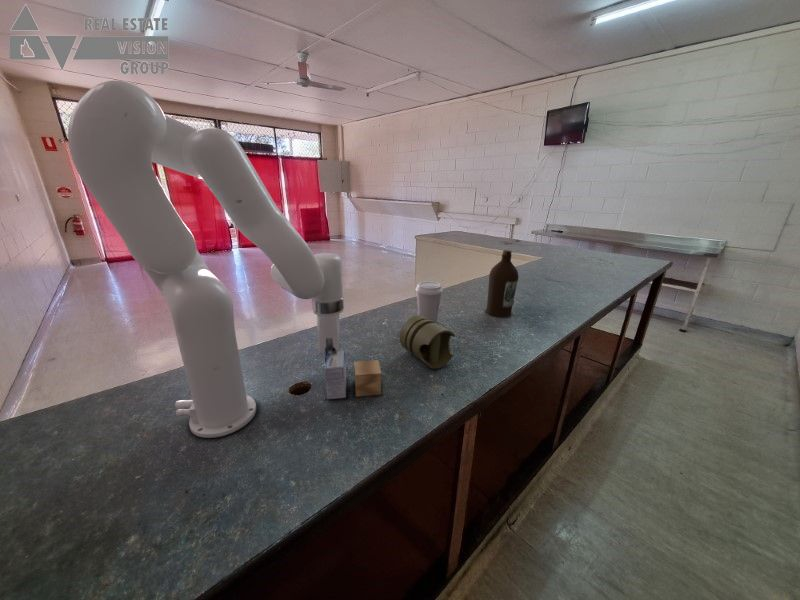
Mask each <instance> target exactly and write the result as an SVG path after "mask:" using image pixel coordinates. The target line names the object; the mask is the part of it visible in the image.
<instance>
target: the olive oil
mask: <svg viewBox="0 0 800 600" xmlns="http://www.w3.org/2000/svg"><path fill="white" fill-rule="evenodd" d="M512 253H513V251H512V250H509V249H504V250H502V254H501V260H500V261H499V262H498V263H496V264H495V265H494V266H493V267H492V268H490V271H489V275H488V286H487V287H488V289H487V301H486V309H485V310H486V313H487V314H488V315H489V316H491V317H492V316H493V317H497V318H507V317H510V316H511V315H512V311H513V310H512V309H513V306H514V303H515V295H516V291H517V287H518V281H519V271H518V269H517V268H516V266H515V265H514V264H513V262H512Z"/></svg>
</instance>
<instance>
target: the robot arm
mask: <svg viewBox="0 0 800 600" xmlns="http://www.w3.org/2000/svg"><path fill="white" fill-rule="evenodd" d="M71 112H72V113H71V115H70V118H69V122H68V127H67V142H68V148H69V153H70V157H71V160H72V162H73V165H74V166H75V169H76V171H77V173H78V175H79V177H80V179H81V181H82V182H83V184H84V185H85V187H86V188H87V190H88V192H89V193H90V194H91V196H92V197H93V199H94V200H95V202H96V203H97V204H98V206H99V208H100V209H101V210H102V211H103V213H104V215H105V217H106V218H107V220H108V221H109V222H110V224H111V225H112V226H113V227H114V229H115V231H116V232H117V233H118V235H119V236H120V238H121V239H122V241H123V242H124V244H125V246H126V248H127V251H128V253H129V254H130V256H131V257H132V258H133V259H134V260H135V262H137V263H138V265H140V267H142V268H143V270H144V271H145V273H146V274H147V276H149V278H150V280H151V281H152V283H154V285H155V286H156V287H157V289H158V290H159V291H160V293H161V294H162V296H163V298H164V299H165V302H166V305H167V306H168V309H169V312H170V316H171V319H172V322H173V327H174V331H175V336H176V340H177V344H178V348H179V353H180V356H181V357H180V358H181V361H182V363H183V367H184V371H185V372H184V373H185V375H186V380H187V384H188V388H189V392H190V394H191V399H189V400H188V399H182V400H176V401H175V403H174V409H175V417H187V416H188V417H189V419H188V426H189V429H190V432H191V433H192V434H193V435H194V436H197V437H200V438H206V439H211V438H212V439H213V438H220V437H224V436H227V435H229V434H232V433H235V432H237V431H238V430H241V429H242V428H243V427H245V426H246V425H247V424H248V423H250V422H251V421H252V419H253V418H254V417H255V416H256V413H257V403H256V400H255V399H254V398H253V397H252V396H250V395H248V394H247V392H246V386H245V382H244V374H243V369H242V368H243V367H242V364H241V358H240V357H241V356H240V352H239V346H238V340H237V335H236V327H235V311H234V310H235V309H234V303H233V298H232V295H231V293H230V291H229V289H228V288H227V286H226V285H225V283H223V282H222V281H221V279H219V278H218V277H217V276H216V275H214V273H212V272H211V270H210V269H209V267H208V265H207V264H206V262H205V260H204V259H203V257H202V256H201V254H200V252H199V250H198V249H197V247H198V246H197V242H196V239H195V237H194V235H193V233H192V232H191V230H190V229H189V227H187V225H186V224H185V223H184V221H183V219H182V218H181V216H180V215H179V213H178V211H177V210H176V208H175V207H174V205H173V203H172V201H171V199H169V197H168V195H167V193H166V190H165V189H164V187H163V186H162V184H161V182H160V180H159V178H158V176H157V175H156V172H155V170H154V166H153V163H154V164H157V165H159V166H162V167H165V168H168V169H170V170H173V171H176V172H179V173H182V174H185V175H187V176H191V177H195V178H197V179H201V180H202V181H203V182H204V183H205V185H206V186H207V188H208V189H209V190H210V191H211V193H212V194H213V196H214V197H215V198H216V200H217V202H218V203H219V204H220V206H221V207H222V208H223V210H224V212H225V213H226V215H227V216H228V217H229V219H230V220H231V222H232V223H233V225H234V226H235V228H236V229H237V230H238V231H239V232H240V233H241V234H242V235H243V237H245V238H246V239H247V240H249V241H250V242H251V243H252V244H253V245H255V246H256V247H257V248H258V249H259V250H260V251H262V253H263V254H264V255H265V256H266V257H267V258H268V259H269V260H270V261H271V263H272V264H271V267H270V277H271V279H272V281H273V282H274V283H275V285H277V286H278V287H279V288H281V289H283V290H285V291H286V292H288V293H290V294H291V295H292V296H294V297H295V298H298V299H301V300H311V308H312V309H311V310H312V313H313V314H314V315H316V327H317V328H316V330H317V345H318V346H317V347H318V353H319V354H324V353H325V354H324V360H325V361H324V363H325V364H326V360H327V352H328V355H331V354H333V351H336V352H337V351H340V350H339V349H340V338H341V337H340V335H341V333H340V332H341V327H340V325H341V322H340V321H341V320H340V314H341V313H343V312H344V311H345V304H344V284H343V283H344V281H343V262H342V257H340V255H338V254H336V253H332V252H319V253H315V254H314V252H313V251H312V250H311V248H310V246H309V245H308V243H307V242H306V241H305V239H304V238H303V236H302V235H301V234H300V233H299V232H298V230H297V229H296V228H295V227H294V226H293V224H292V223H291V222H290V221H289V220H288V218H287V217H286V216H285V215H284V214H283V212H282V211H281V210H280V208H279V207H278V206H277V204H276V202H275V201H274V199H273V198H272V196H271V194H270V192H269V190H268V189H267V188H266V186H265V184H264V182H263V181H262V178H261V177H260V176H259V173H258V172H257V170H256V169H255V167H254V166H253V164H252V162H251V161H250V158H249V157H248V155H247V153H246V152H245V150H244V149H243V147H242V145H241V144H240V142H239V141H238V140H237V139H236V138H235V136H233V135H232V134H231V133H230V132H228V131H227V130H224V129H222V128H218V127H204V128H197V127H193V126H191V125H189V124H186V123H184V122H181V121H179V120H177V119H175V118H172V117H170V116H168V115H166V114H164V111H163V110H162V108H161V106H160V105H159V104H158V102H157V101H156V100H155V99H154V97H152V96H151V95H150V94H149V93H148V92H147V91H145V90H144V89H143V88H141V87H139V86H137V85H135V84H133V83H131V82H128V81H123V80H107V81H103V82H99V83H97V84H96V85H94V86H93V87H91V88H90V89H89V90H87V91H86V92H85V94H84V95H82V97H81V98H80V99H79V101H77V103H76V105H75V106H74V109H73V110H72V111H71Z"/></svg>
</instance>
